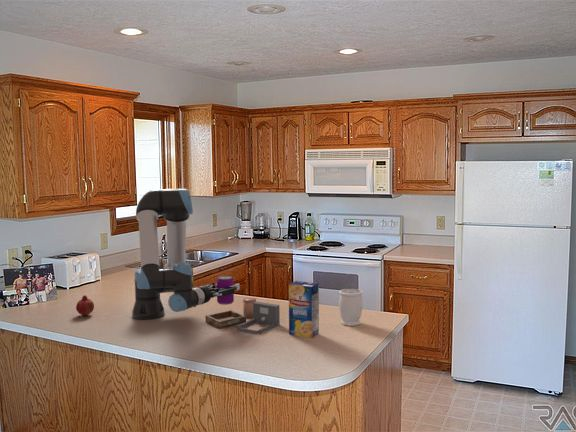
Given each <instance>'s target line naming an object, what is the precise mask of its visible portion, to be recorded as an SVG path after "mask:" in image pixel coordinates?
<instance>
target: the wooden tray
mask: <svg viewBox="0 0 576 432" xmlns="http://www.w3.org/2000/svg"><path fill="white" fill-rule="evenodd" d="M204 317H205V323H207V324H210V325H211V326H213V327H216V328H218V329H224V328H225V329H226V328H229V327H233V326H238V325H240V324H242V323H245V322H247V318H246V316H245V315H244V314H242V313H240V312H237V311H234V310H232V309H231V310H230V309H229V310H225V311H220V312H216V313H212V314H205V316H204Z"/></svg>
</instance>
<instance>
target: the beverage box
mask: <svg viewBox="0 0 576 432" xmlns="http://www.w3.org/2000/svg"><path fill="white" fill-rule="evenodd" d="M319 286H320V284H319V283H318V282H308V281H301V280H295V281H293V282H290V283H288V334H289V335H290V336H297V337H301V338H306V339H307V338H308V339H313V338H315V337H316V336H318V335H319V333H320V323H319V322H320V321H319V320H320V318H319V317H320V316H319V313H320V312H319V311H320V309H319V308H320V305H319V304H320V303H319V301H320V297H319V295H320V293H319V291H320V290H319V288H320V287H319Z"/></svg>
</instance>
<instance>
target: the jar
mask: <svg viewBox="0 0 576 432" xmlns="http://www.w3.org/2000/svg"><path fill="white" fill-rule="evenodd" d="M338 292H339V293H338V294H339V299H338V300H339V301H338V307H339V313H340V317H341V324H342V325H344V326H349V327H353V326H359V325H361V321H360V320H361V317H362V311H363V307H364V306H363V304H364V303H363V296H362V295H363V290H361V289H357V288H344V289H343V288H342V289H340V290H339V291H338Z"/></svg>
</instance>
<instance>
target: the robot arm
mask: <svg viewBox="0 0 576 432" xmlns="http://www.w3.org/2000/svg"><path fill="white" fill-rule="evenodd" d="M191 197H192V196H191V192H190V190H189V189H188V188H165V189H161V188H160V189H158V188H156V189H151V190H149V191H147V192H146V193H145V194H143V196H142V197H141V198H140V199H139V201H138V203H137V206H136V210H135V218H136V220H137V221H138V233H139V252H140V253H139V255H140V257H139V258H140V268H139V269H137V270H136V271H135V272H134V296H135V300H134V304H133V307H132V310H131V312H132V314H131V315H132V318H133V319H137V320H152V319H153V320H154V319H156V318H157V319H158V318H161V317H163V316H164V315H165V307H164V305H163V302H162V300H161V294H165V293H167V294H168V293H173V294H171V295H170V296H169V298H168V300H167V301H168V302H167V303H168V307H169V308H170V310H172V311H173V312H175V313H178V312H179V313H180V312H182V311H186V310H189V309H191V308H196V307H197V306H201V305H204V304H207V303H208V302H210V300H211V299H212V298H215V297H216V298H217V296H218V297H219V298H220V297H222V296H226V295H230V294H234V295H235V292H236V291H239V290H240V289H241V287H240V283H235V284H234V285H232V286H230V287H227V288H221V289H218V288H217V283H215V282H212V283H211V284H210V283H209V284H206V285H200V286H197V287H193V288H192V271H191V265H190V264H189V263H190V262H186V252H187V251H186V250H187V249H186V245H187V244H186V241H187V240H186V238H187V237H186V236H187V235H186V234H187V233H186V231H187V229H186V228H187V224H186V223H187V221H188V220H189V219H190V215H193V214H194V212H193V210H194V209H193V203H192V198H191ZM159 216H163V219H164V221H166V248H167V249H166V253H167V254H166V255H167V256H166V258H167V260H166V263H165V264H164V266H163V268H160V266H161V265H160V252H159V251H160V250H159V249H160V248H159V237H158V235H159V234H158V221H157V220H158V219H159Z"/></svg>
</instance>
